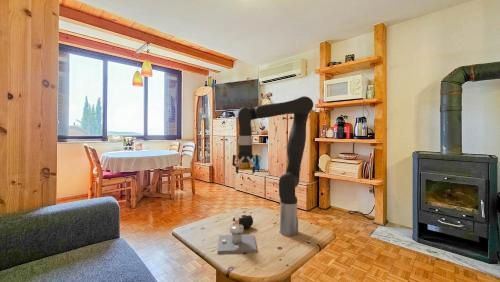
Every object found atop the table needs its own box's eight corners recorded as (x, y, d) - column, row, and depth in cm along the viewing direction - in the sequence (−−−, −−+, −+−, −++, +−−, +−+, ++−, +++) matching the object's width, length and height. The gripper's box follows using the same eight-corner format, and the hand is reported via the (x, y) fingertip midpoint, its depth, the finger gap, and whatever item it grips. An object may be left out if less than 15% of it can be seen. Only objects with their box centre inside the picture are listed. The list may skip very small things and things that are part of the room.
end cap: (239, 232, 125) (239, 220, 125) (232, 228, 130) (232, 217, 130) (253, 228, 131) (253, 216, 131) (245, 224, 137) (245, 213, 137)
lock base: (253, 236, 120) (253, 224, 120) (256, 251, 104) (256, 238, 104) (219, 237, 119) (219, 225, 119) (217, 253, 103) (217, 240, 103)
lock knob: (230, 228, 116) (230, 214, 115) (243, 227, 116) (243, 213, 116) (229, 236, 106) (229, 221, 106) (244, 236, 106) (244, 221, 106)
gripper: (257, 143, 128) (257, 172, 128) (232, 143, 127) (232, 172, 127) (259, 144, 120) (259, 174, 121) (232, 144, 119) (232, 174, 120)
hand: (245, 173), depth 124 cm, fingers open, 8 cm apart
